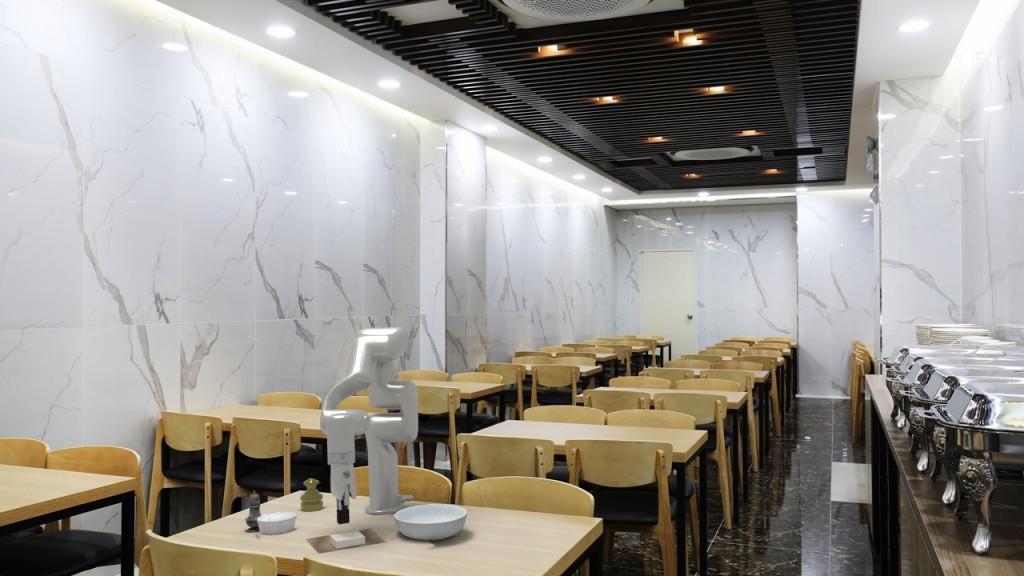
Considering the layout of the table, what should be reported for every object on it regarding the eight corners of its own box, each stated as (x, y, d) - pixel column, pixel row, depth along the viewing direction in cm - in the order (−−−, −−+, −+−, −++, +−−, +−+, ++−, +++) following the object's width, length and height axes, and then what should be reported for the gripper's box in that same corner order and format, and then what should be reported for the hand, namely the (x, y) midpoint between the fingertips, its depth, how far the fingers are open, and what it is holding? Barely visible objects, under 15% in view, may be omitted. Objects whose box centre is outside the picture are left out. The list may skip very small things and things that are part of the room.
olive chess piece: (305, 506, 275) (304, 476, 275) (326, 506, 274) (325, 476, 274) (296, 511, 268) (296, 481, 268) (318, 511, 267) (317, 481, 267)
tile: (357, 530, 230) (364, 536, 224) (357, 538, 230) (365, 544, 224) (329, 535, 226) (336, 541, 220) (329, 543, 226) (336, 549, 220)
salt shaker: (259, 532, 244) (258, 492, 244) (241, 532, 245) (240, 492, 245) (268, 527, 250) (267, 488, 250) (251, 527, 251) (250, 488, 251)
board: (369, 532, 240) (369, 528, 240) (387, 546, 226) (386, 541, 226) (305, 543, 231) (305, 538, 231) (318, 558, 217) (318, 553, 217)
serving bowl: (410, 552, 220) (409, 526, 220) (385, 533, 238) (384, 510, 239) (479, 539, 229) (478, 515, 230) (450, 522, 248) (449, 500, 248)
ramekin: (250, 535, 242) (249, 517, 242) (283, 526, 250) (283, 509, 250) (270, 541, 235) (269, 523, 235) (303, 532, 243) (303, 515, 243)
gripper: (361, 460, 224) (363, 527, 223) (347, 452, 237) (349, 515, 236) (334, 463, 220) (336, 531, 220) (321, 455, 233) (323, 519, 233)
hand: (343, 522), depth 228 cm, fingers closed
